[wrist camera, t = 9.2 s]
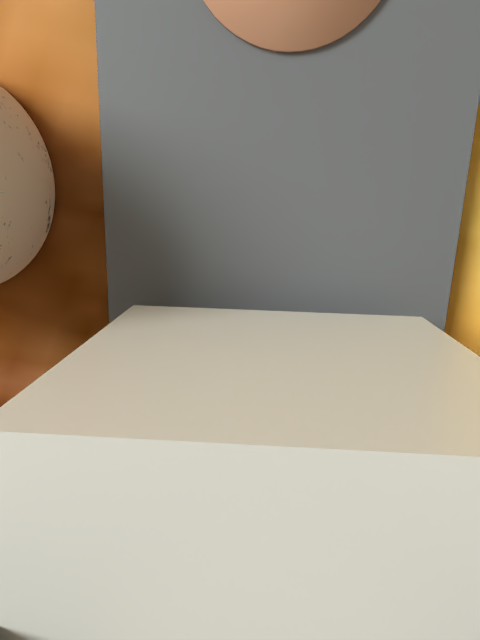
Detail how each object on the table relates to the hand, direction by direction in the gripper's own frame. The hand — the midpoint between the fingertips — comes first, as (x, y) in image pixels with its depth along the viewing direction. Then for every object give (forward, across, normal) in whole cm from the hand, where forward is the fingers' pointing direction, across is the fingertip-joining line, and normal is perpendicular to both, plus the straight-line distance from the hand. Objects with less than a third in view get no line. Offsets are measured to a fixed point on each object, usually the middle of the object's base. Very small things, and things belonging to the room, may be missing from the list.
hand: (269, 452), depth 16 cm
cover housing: (+1, 0, 0) cm, 1 cm away
